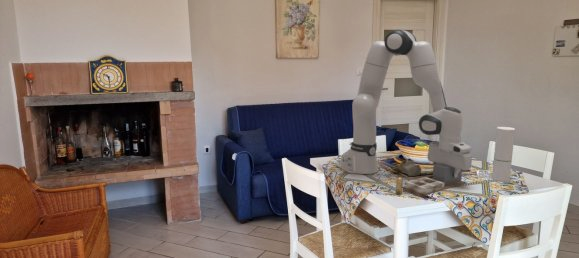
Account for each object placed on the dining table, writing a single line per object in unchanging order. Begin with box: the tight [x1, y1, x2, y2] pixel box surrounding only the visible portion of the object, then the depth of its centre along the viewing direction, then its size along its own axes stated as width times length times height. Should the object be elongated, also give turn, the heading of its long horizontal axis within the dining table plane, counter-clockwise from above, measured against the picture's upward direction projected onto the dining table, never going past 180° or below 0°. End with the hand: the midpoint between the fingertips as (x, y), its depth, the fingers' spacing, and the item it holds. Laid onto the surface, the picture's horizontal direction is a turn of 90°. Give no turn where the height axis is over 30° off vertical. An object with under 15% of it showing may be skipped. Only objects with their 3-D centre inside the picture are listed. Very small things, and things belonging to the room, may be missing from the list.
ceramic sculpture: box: [390, 158, 422, 177], centre depth 195 cm, size 11×9×15 cm
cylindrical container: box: [491, 126, 516, 184], centre depth 182 cm, size 7×7×25 cm
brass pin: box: [395, 176, 404, 196], centre depth 170 cm, size 3×3×7 cm
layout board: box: [402, 176, 468, 199], centre depth 177 cm, size 12×28×6 cm, turn 123°
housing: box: [432, 163, 463, 186], centre depth 180 cm, size 6×12×8 cm, turn 122°
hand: (447, 175), depth 180 cm, fingers closed on housing, 6 cm apart
